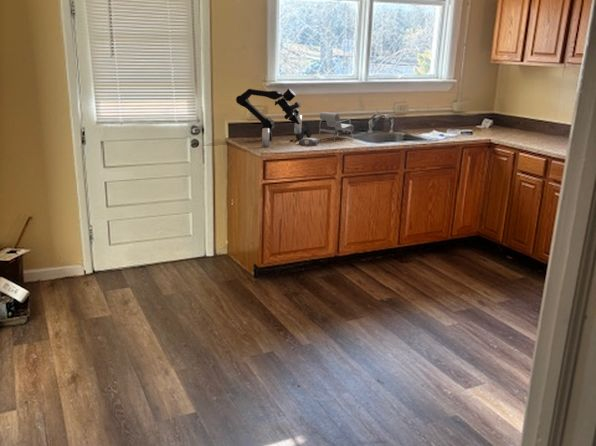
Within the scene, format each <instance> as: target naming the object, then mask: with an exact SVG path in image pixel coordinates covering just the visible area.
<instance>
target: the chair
mask: <svg viewBox="0 0 596 446" xmlns="http://www.w3.org/2000/svg"><path fill="white" fill-rule="evenodd" d="M319 119H320V120H319V124H321V123H322V122H323V121H325V122H326V126H327V127H330V128H334V130H332V129H326V128H321V126H319V134H318V135H319V136H318V139H320V140H321V132H324V133H330V134H331V133H332V134H333V141H334V142H335V141H336V137H335V136H337V137H338V136H339V132H338V131H339V130H340V131H346V132H350V133H351V138H350V140H352V139H353V138H354V135H353V131H354V129H355V128H354V125H353V124H352V123H351V118H350V119H349V118H347V119H344V120H341V118H340V115H339V113H334V112H327V111H322V112H320V114H319ZM346 121H348V122H349V123H342V122H346ZM336 133H337V134H336ZM347 139H348V138H346V139H344V141H348V140H347ZM340 140H341V139H340ZM340 140H338V142H341V141H340Z"/></svg>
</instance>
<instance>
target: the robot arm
mask: <svg viewBox="0 0 596 446" xmlns="http://www.w3.org/2000/svg"><path fill="white" fill-rule="evenodd" d="M251 96H257V97H264V98H268V99H271V100H274V106H279V107H280V108H281V109H282V112H284V113H285V115H284V119H285V120H286V121H287V120H288V121H290V122H293V123H294V124H295V123H296V124H300V123H299V121H298V120H297V118H296V117H295V115H300V109H299V108H301V103H300V102H298V101H296V102H294V104H291V103H289V102H291V101H292V100H293V99H294V98H295V97H296V96H297V94H296V93H295V92H294V91H293V90H292V89H291V88H287V89H286V91H285V92H281V91H279V90H261V89H254V88H248V89H246V91H244V92H243V93H241V94H240V95H237V96H236V98H235V101H236V103H237V104H238V105H240V106H241V107H242V108H243V107H244V108H245V109H247V111H249V113H251V114H252V115H253V116H254V117H255V118H256V119H258V120H259V122H260V123H261V125H262V127H261V128H260V131H261V132H262V128H270V136H269V142H270V141H272V140H273V133H272V132H273V129H274V128H275V127H276V125H275V124H276V123H275V122H274V120H273V119H272V118H271V117H270V116H268V117H266V116H265V115H264V114H263V113H261V112H260V111H259V110H258V109H257V108H256V107H255V106H254V105H253V104H252V103H251V102H250V99H249V98H251ZM260 141H262V138H261V139H260Z"/></svg>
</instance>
